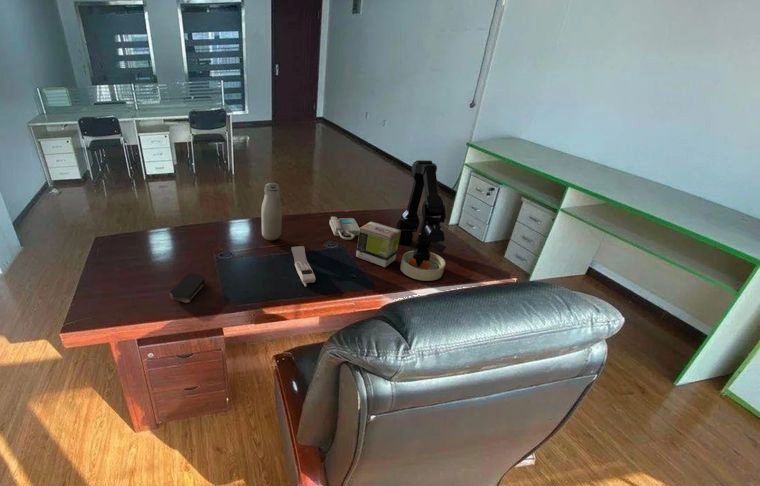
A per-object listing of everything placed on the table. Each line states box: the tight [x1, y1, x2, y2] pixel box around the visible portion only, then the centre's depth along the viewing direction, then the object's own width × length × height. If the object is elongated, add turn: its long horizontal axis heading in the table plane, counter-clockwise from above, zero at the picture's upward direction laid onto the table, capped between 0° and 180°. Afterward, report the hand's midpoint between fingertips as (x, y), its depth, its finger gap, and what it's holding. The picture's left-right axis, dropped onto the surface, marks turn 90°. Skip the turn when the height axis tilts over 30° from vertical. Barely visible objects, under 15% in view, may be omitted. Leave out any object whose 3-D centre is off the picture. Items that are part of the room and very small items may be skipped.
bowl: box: [399, 250, 446, 282], centre depth 168 cm, size 17×17×6 cm
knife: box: [409, 258, 437, 270], centre depth 168 cm, size 11×3×3 cm, turn 67°
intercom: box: [329, 216, 361, 241], centre depth 200 cm, size 13×4×25 cm
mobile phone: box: [291, 245, 317, 288], centre depth 169 cm, size 6×6×25 cm
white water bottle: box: [260, 182, 283, 241], centre depth 188 cm, size 10×10×28 cm
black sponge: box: [169, 272, 206, 304], centre depth 158 cm, size 16×8×4 cm, turn 160°
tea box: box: [355, 220, 401, 268], centre depth 175 cm, size 15×10×15 cm, turn 47°
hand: (418, 264), depth 169 cm, fingers closed on knife, 2 cm apart
